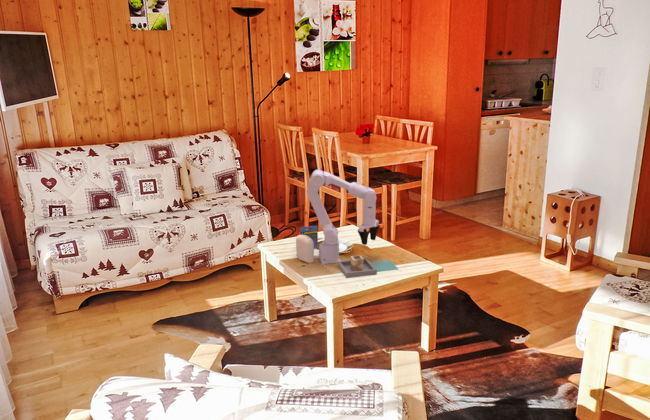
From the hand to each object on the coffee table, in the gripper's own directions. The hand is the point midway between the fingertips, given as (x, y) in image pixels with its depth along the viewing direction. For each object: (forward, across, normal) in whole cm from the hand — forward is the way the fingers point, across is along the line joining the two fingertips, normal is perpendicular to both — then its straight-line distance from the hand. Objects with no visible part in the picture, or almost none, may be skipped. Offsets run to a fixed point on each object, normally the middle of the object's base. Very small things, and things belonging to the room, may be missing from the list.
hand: (368, 242), depth 242 cm
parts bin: (+9, -13, -2) cm, 16 cm away
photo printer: (+10, -17, +25) cm, 32 cm away
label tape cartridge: (+10, -3, +34) cm, 35 cm away
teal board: (+9, -3, -10) cm, 14 cm away
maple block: (+9, -13, -2) cm, 16 cm away
